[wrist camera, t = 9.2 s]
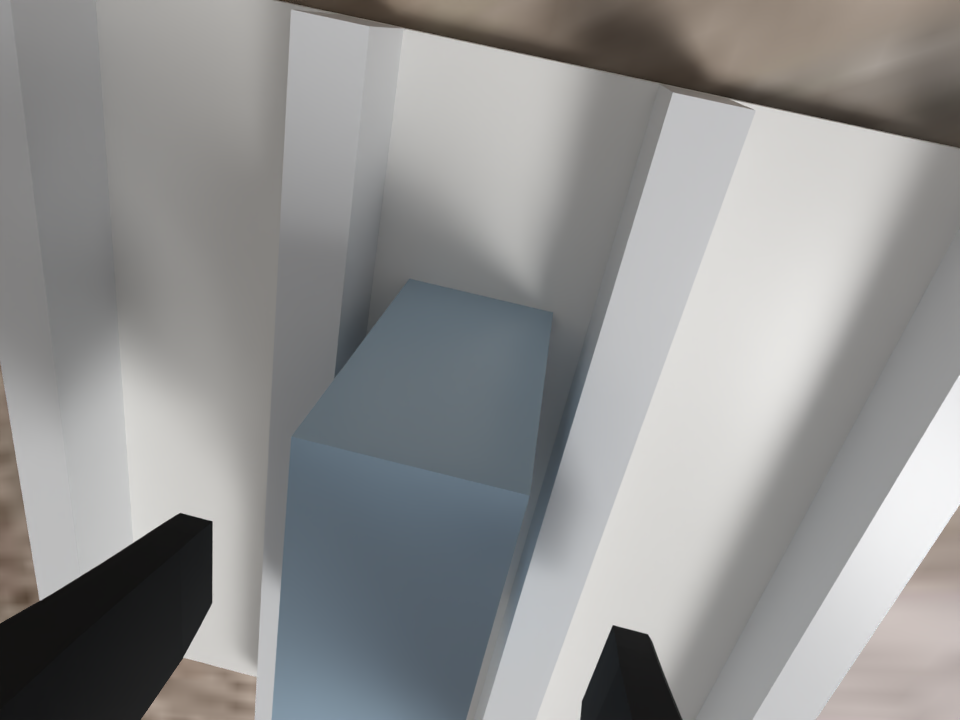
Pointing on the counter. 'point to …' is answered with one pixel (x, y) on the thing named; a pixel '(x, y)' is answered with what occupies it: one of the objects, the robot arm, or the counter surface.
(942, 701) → the counter surface
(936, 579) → the counter surface
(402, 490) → the blue block
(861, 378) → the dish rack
